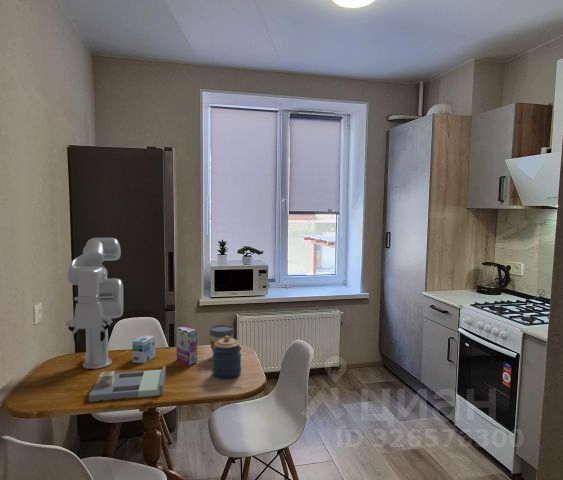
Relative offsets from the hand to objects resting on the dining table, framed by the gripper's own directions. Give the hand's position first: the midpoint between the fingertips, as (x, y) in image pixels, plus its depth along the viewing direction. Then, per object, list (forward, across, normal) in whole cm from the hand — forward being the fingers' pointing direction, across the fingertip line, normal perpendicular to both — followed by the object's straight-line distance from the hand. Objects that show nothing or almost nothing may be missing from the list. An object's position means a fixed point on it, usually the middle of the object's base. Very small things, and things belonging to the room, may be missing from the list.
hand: (89, 341), depth 157 cm
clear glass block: (+18, +6, 0) cm, 19 cm away
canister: (+21, +56, +6) cm, 60 cm away
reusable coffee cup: (+21, +56, +28) cm, 65 cm away
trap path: (+21, +15, 0) cm, 25 cm away
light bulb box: (+21, +17, +32) cm, 42 cm away
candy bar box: (+21, +38, +25) cm, 50 cm away
